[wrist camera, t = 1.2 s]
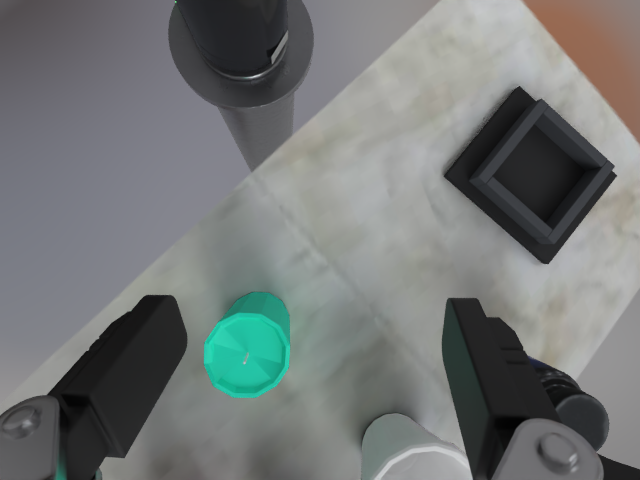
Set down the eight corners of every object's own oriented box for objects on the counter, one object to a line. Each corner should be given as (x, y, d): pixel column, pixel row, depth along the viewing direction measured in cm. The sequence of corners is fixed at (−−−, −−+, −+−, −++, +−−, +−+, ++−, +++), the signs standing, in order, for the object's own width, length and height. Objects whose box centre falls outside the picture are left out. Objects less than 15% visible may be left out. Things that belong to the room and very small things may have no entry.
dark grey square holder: (443, 176, 37) (456, 171, 34) (514, 89, 38) (532, 76, 35) (543, 263, 38) (563, 265, 35) (610, 176, 39) (635, 171, 36)
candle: (283, 285, 35) (281, 307, 23) (295, 345, 35) (299, 397, 23) (221, 298, 35) (187, 327, 23) (234, 359, 35) (207, 420, 23)
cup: (322, 435, 36) (334, 503, 26) (401, 372, 36) (440, 416, 27) (382, 513, 36) (414, 606, 27) (459, 449, 37) (516, 518, 28)
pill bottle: (534, 372, 38) (635, 425, 27) (493, 414, 37) (580, 487, 26) (494, 330, 37) (581, 367, 26) (453, 372, 37) (524, 428, 26)
